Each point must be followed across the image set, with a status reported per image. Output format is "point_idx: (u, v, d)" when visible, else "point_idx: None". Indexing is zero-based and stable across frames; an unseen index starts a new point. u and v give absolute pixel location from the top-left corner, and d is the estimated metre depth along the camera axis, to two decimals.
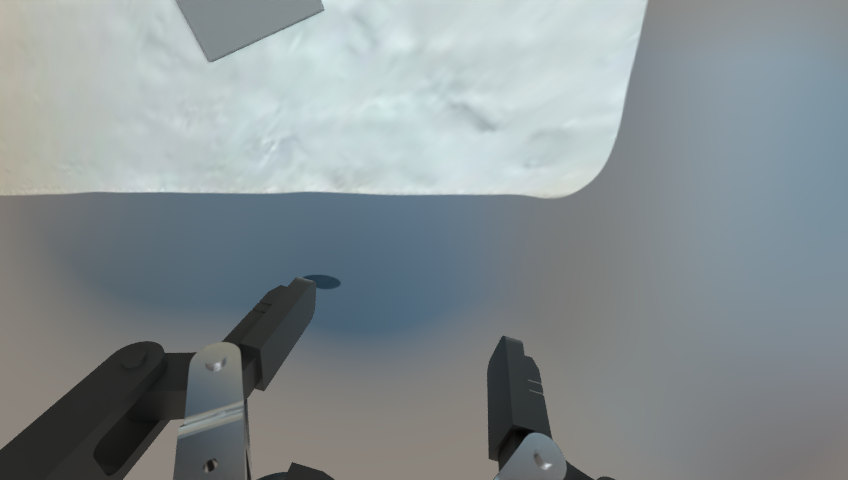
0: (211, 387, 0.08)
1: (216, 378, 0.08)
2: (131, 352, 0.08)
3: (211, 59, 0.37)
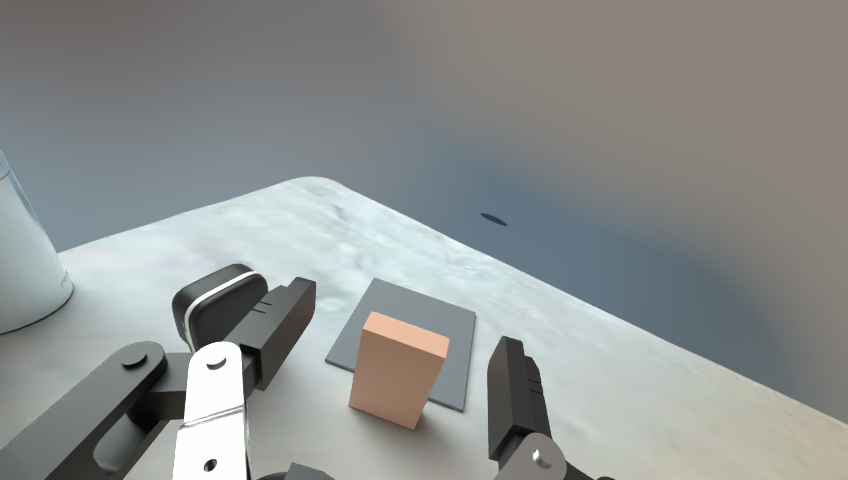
0: (211, 387, 0.08)
1: (216, 379, 0.08)
2: (130, 352, 0.08)
3: (472, 311, 0.46)
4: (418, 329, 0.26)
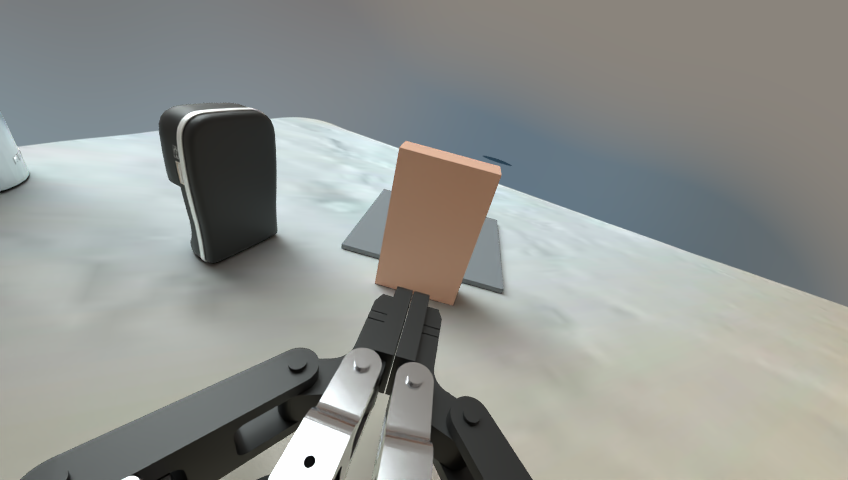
0: (368, 390, 0.09)
1: (354, 381, 0.09)
2: (298, 356, 0.09)
3: (493, 219, 0.42)
4: (462, 157, 0.22)
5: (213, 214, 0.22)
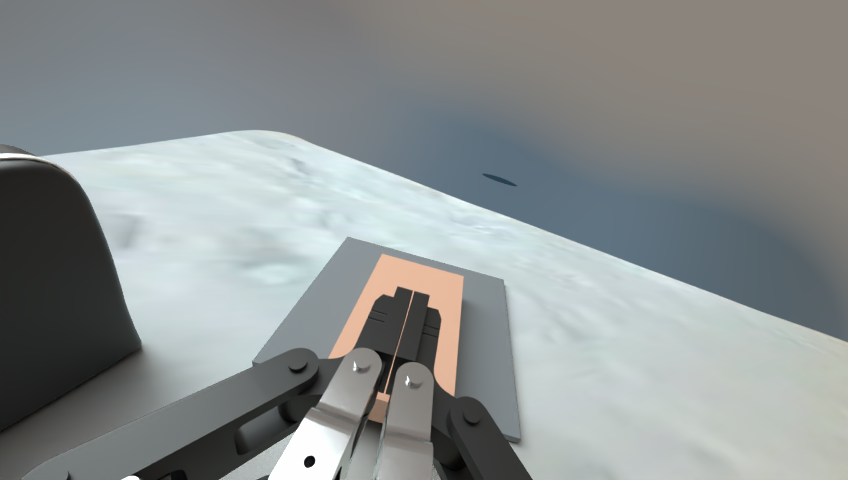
0: (368, 390, 0.09)
1: (354, 381, 0.09)
2: (298, 356, 0.09)
3: (498, 279, 0.30)
4: None
5: None
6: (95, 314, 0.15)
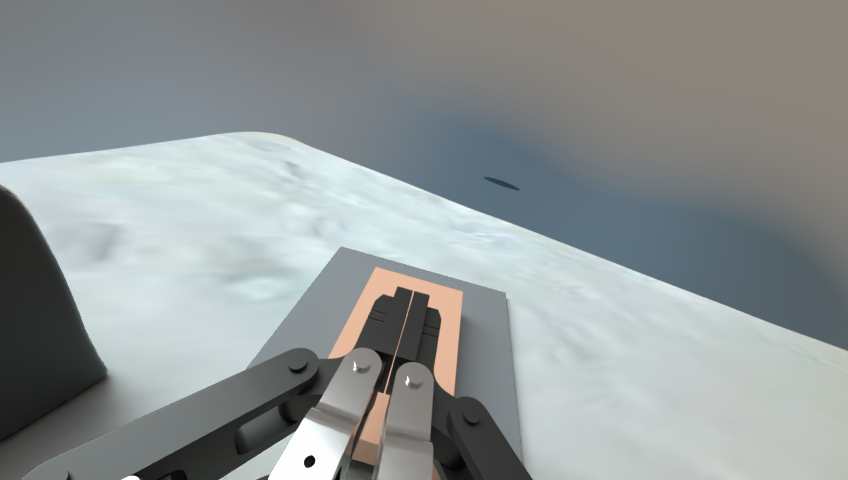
0: (368, 390, 0.09)
1: (354, 381, 0.09)
2: (298, 356, 0.09)
3: (500, 292, 0.29)
4: None
5: None
6: (47, 344, 0.13)
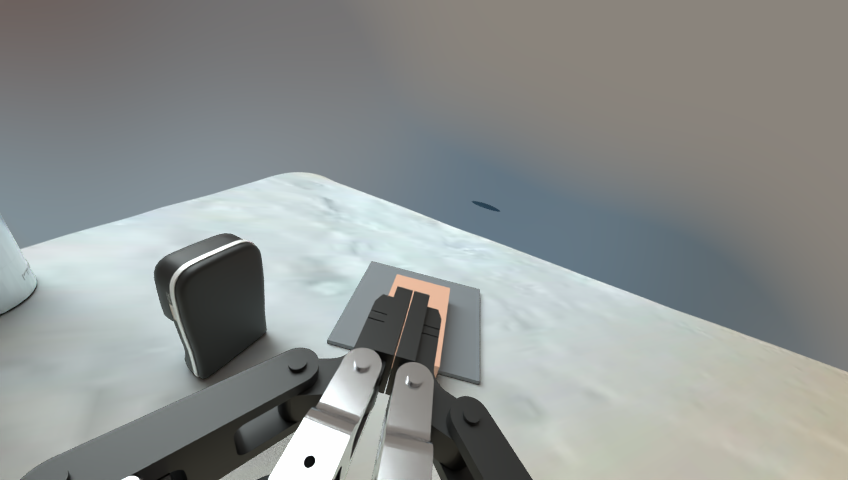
0: (368, 390, 0.09)
1: (354, 381, 0.09)
2: (298, 356, 0.09)
3: (476, 289, 0.44)
4: None
5: (204, 341, 0.24)
6: (254, 313, 0.28)
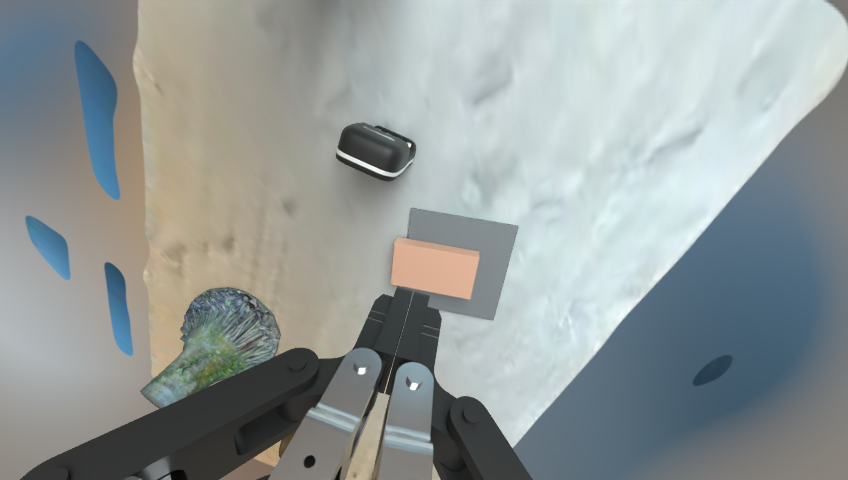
0: (368, 390, 0.09)
1: (354, 381, 0.09)
2: (298, 356, 0.09)
3: (493, 317, 0.48)
4: None
5: None
6: None
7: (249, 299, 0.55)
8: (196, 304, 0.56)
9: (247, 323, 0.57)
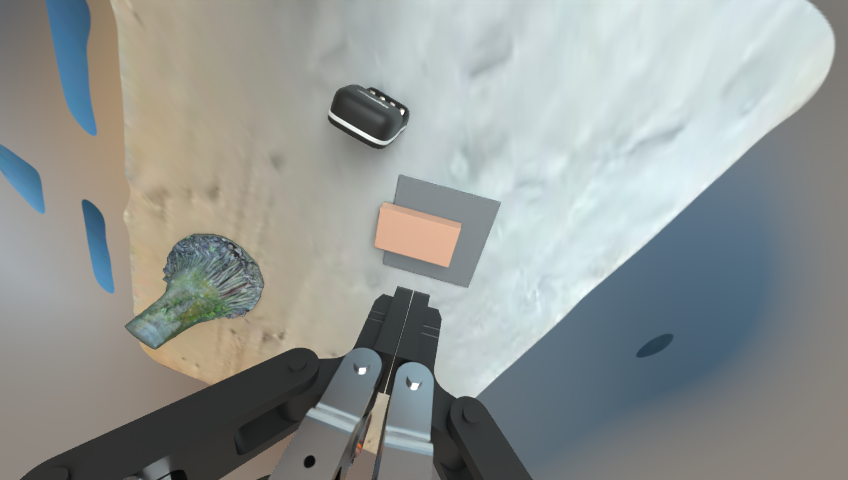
0: (368, 390, 0.09)
1: (354, 381, 0.09)
2: (298, 356, 0.09)
3: (468, 285, 0.52)
4: None
5: None
6: None
7: (234, 248, 0.56)
8: (179, 247, 0.56)
9: (231, 270, 0.58)
